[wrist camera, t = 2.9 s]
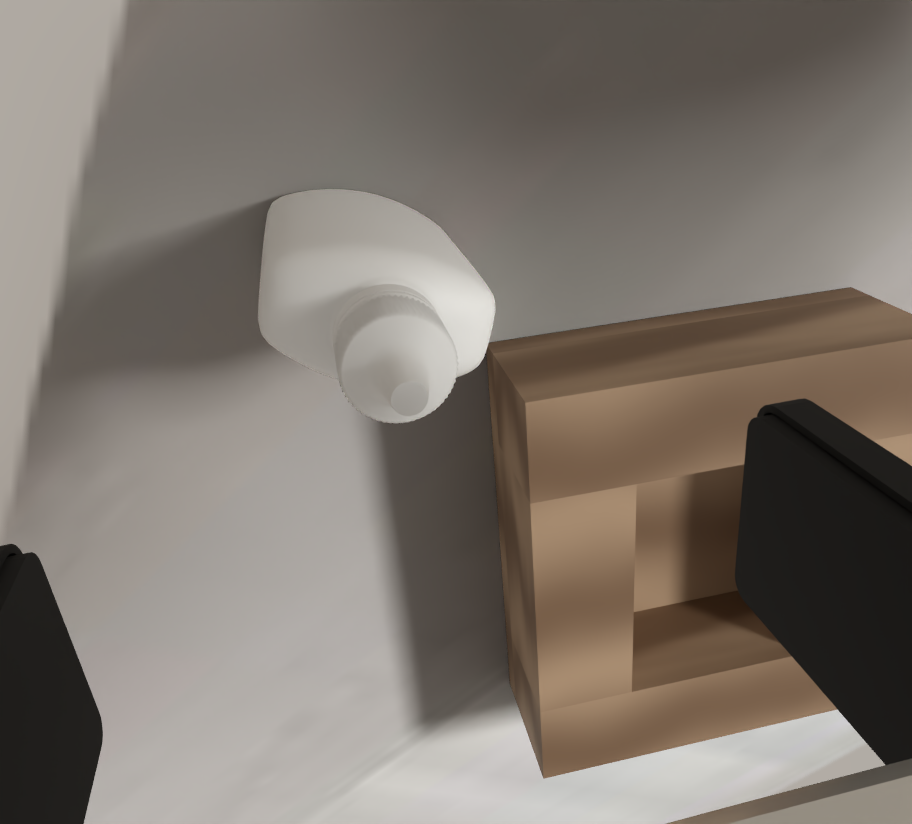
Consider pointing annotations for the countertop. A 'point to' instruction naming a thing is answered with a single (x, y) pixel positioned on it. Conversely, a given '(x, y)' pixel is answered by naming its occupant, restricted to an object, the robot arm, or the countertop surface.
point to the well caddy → (663, 512)
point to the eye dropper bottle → (372, 300)
